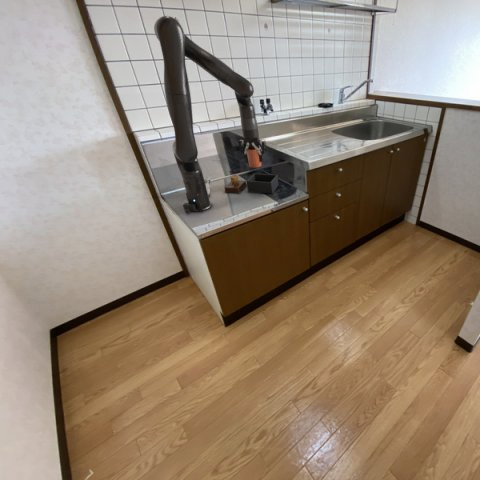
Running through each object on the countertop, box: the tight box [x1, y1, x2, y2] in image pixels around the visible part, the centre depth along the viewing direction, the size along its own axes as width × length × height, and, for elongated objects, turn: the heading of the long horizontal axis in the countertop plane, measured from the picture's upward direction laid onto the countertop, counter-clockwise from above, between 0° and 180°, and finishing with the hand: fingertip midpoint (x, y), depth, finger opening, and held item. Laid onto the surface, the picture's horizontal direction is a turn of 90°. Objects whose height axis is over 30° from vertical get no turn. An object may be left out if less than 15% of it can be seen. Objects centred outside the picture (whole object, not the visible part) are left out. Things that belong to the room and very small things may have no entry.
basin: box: [245, 172, 280, 195], centre depth 153 cm, size 12×14×6 cm
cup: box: [246, 147, 262, 169], centre depth 138 cm, size 6×6×9 cm
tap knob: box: [229, 174, 239, 185], centre depth 152 cm, size 4×4×5 cm
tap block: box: [224, 179, 247, 194], centre depth 154 cm, size 11×8×3 cm
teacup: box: [204, 178, 212, 196], centre depth 146 cm, size 14×11×8 cm
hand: (254, 161), depth 140 cm, fingers closed on cup, 6 cm apart
